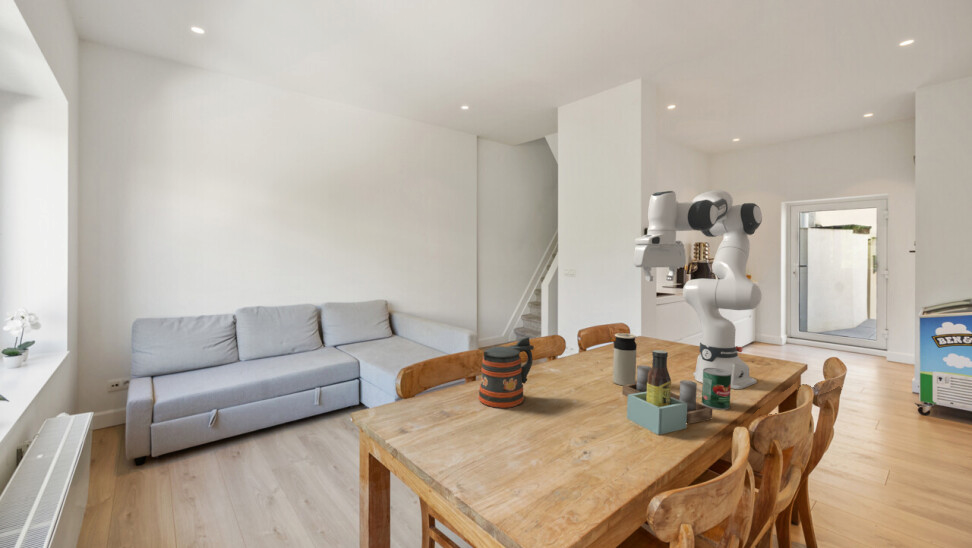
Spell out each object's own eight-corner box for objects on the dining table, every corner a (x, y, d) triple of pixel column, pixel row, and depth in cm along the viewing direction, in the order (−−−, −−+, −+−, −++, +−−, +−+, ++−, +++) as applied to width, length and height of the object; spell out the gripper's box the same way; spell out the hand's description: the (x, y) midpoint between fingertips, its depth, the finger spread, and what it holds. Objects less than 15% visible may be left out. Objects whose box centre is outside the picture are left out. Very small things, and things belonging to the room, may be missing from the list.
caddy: (653, 412, 121) (654, 390, 121) (686, 428, 111) (687, 403, 110) (626, 418, 117) (627, 394, 117) (658, 434, 106) (659, 409, 106)
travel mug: (612, 385, 146) (614, 336, 145) (612, 378, 154) (614, 332, 153) (635, 387, 144) (637, 338, 143) (634, 380, 152) (636, 333, 151)
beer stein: (516, 387, 143) (517, 331, 142) (543, 400, 130) (544, 339, 129) (470, 397, 133) (471, 337, 131) (494, 412, 120) (495, 346, 119)
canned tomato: (724, 411, 123) (725, 376, 122) (697, 404, 129) (698, 370, 128) (733, 405, 128) (735, 372, 127) (707, 398, 134) (709, 366, 133)
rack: (644, 390, 141) (645, 362, 141) (712, 418, 117) (713, 385, 117) (622, 393, 137) (623, 365, 137) (687, 424, 113) (689, 389, 113)
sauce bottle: (666, 426, 110) (668, 355, 109) (642, 420, 114) (645, 351, 113) (671, 419, 115) (674, 351, 114) (649, 413, 119) (651, 347, 118)
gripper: (675, 240, 141) (674, 279, 141) (631, 239, 133) (629, 280, 133) (691, 240, 135) (689, 281, 136) (645, 238, 127) (644, 282, 127)
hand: (659, 281), depth 134 cm, fingers open, 8 cm apart
